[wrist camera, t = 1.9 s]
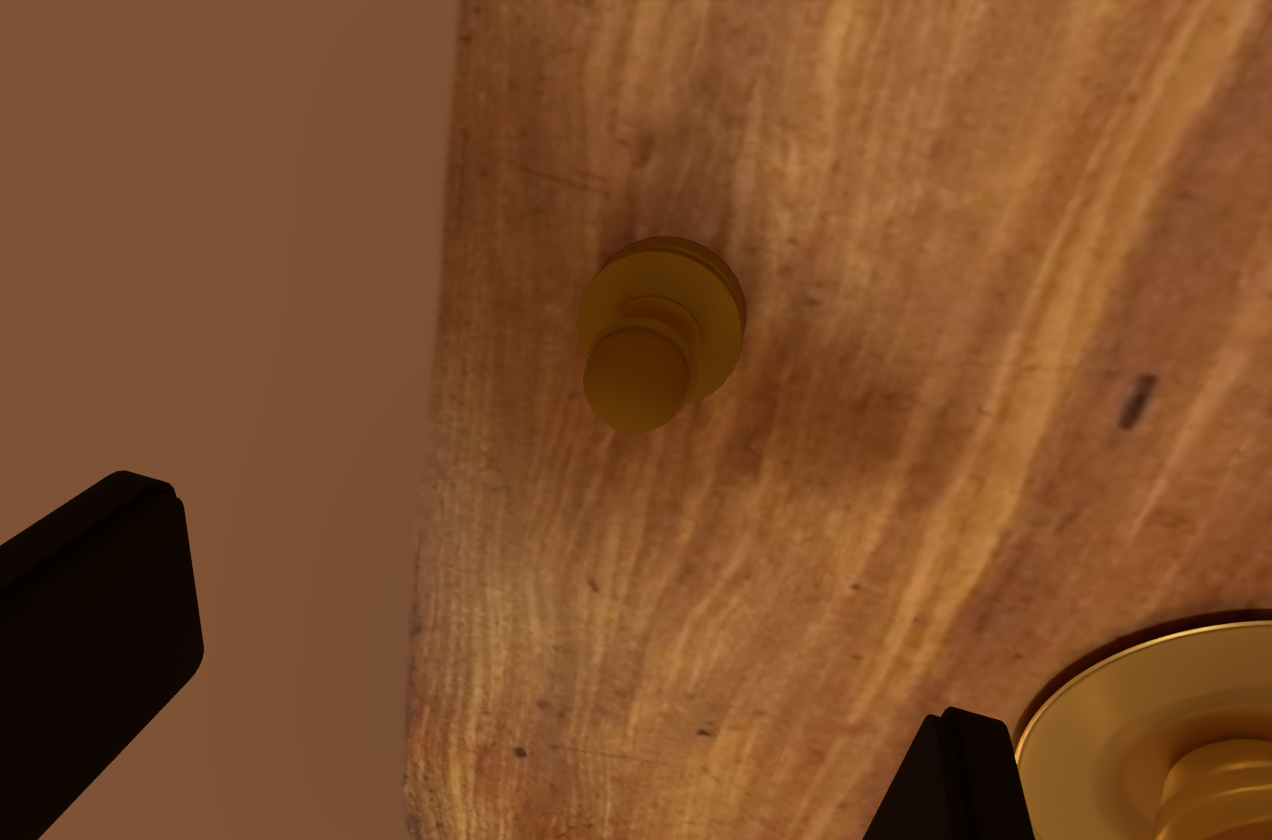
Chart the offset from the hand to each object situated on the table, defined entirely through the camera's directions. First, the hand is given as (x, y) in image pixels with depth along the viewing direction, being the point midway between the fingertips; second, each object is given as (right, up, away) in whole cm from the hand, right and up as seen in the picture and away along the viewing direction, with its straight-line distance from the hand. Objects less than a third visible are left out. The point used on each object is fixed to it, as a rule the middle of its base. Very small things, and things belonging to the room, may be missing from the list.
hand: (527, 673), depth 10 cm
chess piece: (+2, +6, +10) cm, 12 cm away
